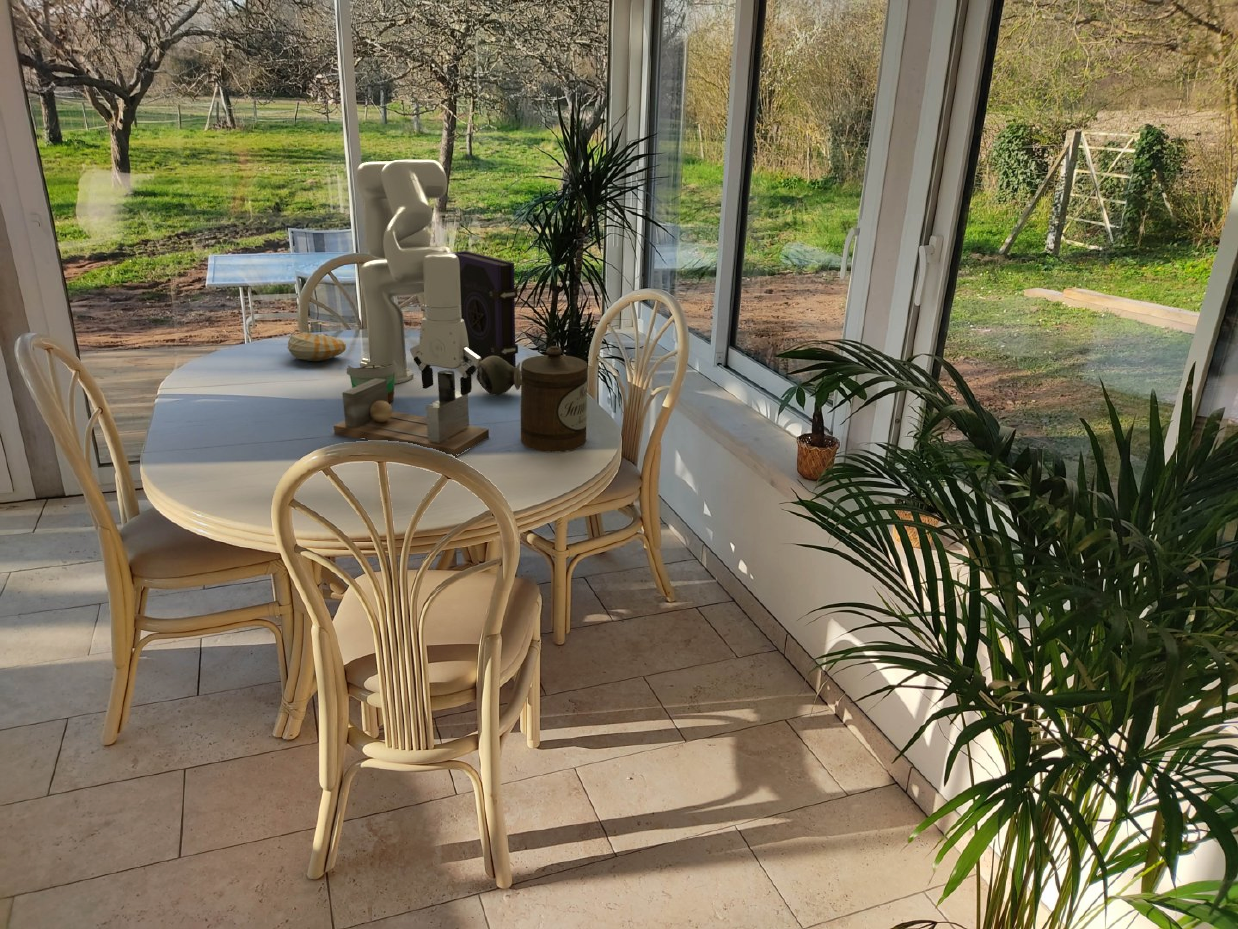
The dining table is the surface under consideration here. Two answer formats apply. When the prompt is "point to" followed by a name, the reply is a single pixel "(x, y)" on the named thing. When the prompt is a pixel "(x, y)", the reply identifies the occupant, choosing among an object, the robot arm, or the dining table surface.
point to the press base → (396, 422)
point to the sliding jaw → (447, 410)
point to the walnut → (381, 411)
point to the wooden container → (553, 402)
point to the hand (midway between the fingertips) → (446, 390)
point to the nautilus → (315, 346)
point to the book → (488, 305)
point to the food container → (374, 376)
